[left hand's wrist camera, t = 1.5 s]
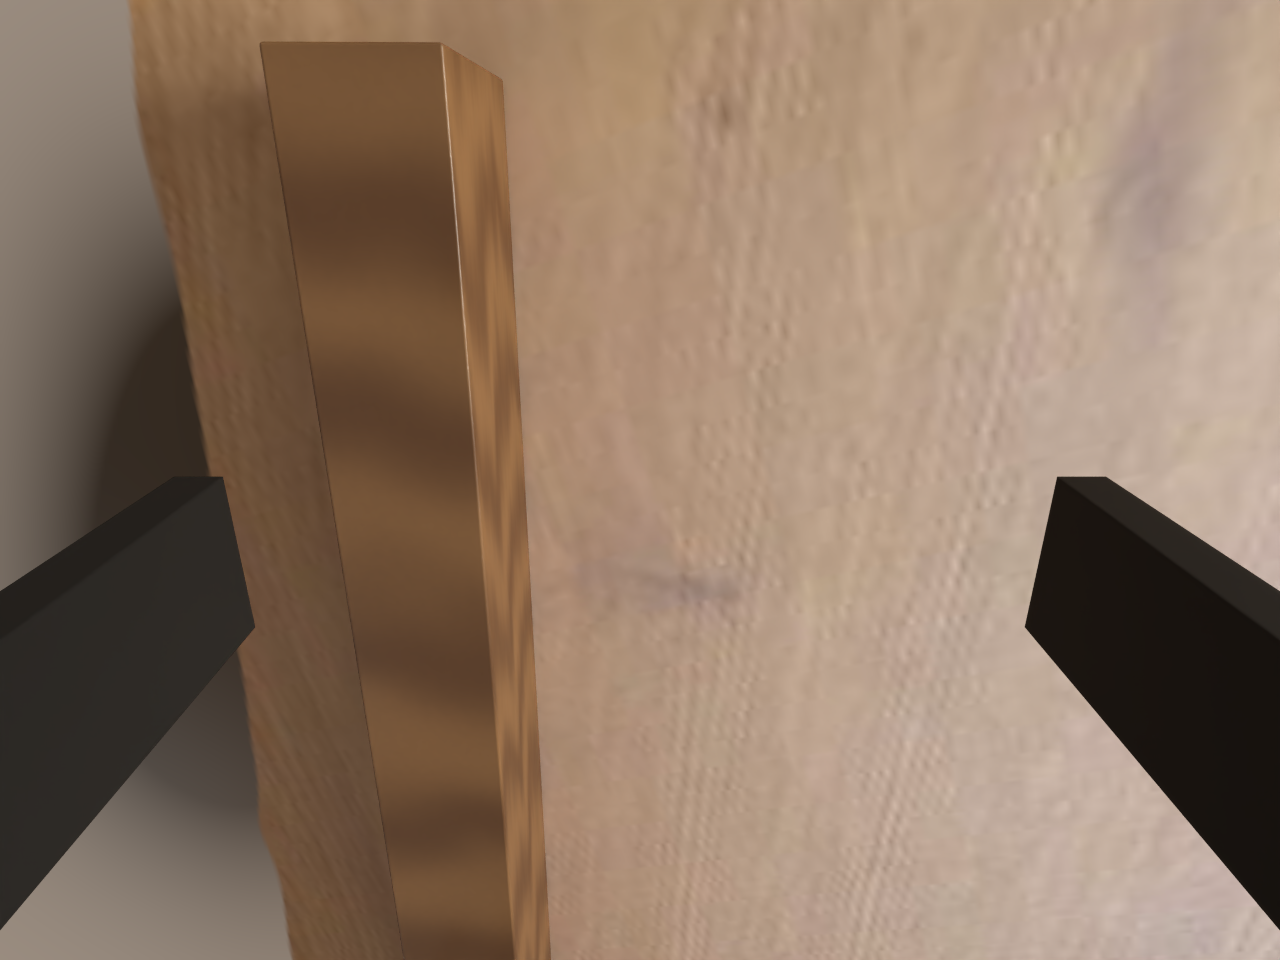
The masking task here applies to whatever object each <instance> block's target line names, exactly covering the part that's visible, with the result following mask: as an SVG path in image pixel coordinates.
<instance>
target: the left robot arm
mask: <svg viewBox="0 0 1280 960" xmlns="http://www.w3.org/2000/svg"><path fill="white" fill-rule="evenodd" d="M254 628H255V624H254V619H253V615H252V610H251V605H250V601H249V596H248V592H247V587H246V582H245V578H244V573H243V568H242V564H241V559H240V554H239V550H238V545H237V541H236V536H235V531H234V527H233V522H232V517H231V513H230V508H229V503H228V499H227V494H226V490H225V485H224V480H223V477H173V478H171V479H170V480H168V481H167V482H165V483H164V484H162V485H161V486H159V487H158V488H156V489H155V490H153V491H152V492H150V493H149V494H147V495H146V496H144V497H143V498H141V499H140V500H138V501H136V502H135V503H134V504H132V505H130V506H129V507H127V508H126V509H124V510H123V511H121V512H120V513H118V514H117V515H115V516H114V517H112V518H111V519H109V520H108V521H106V522H105V523H103V524H102V525H100V526H99V527H97V528H96V529H94V530H92V531H91V532H89V533H88V534H86V535H85V536H83V537H82V538H80V539H79V540H77V541H76V542H74V543H73V544H71V545H70V546H68V547H67V548H65V549H64V550H62V551H61V552H59V553H58V554H56V555H55V556H53V557H52V558H50V559H48V560H47V561H45V562H44V563H42V564H41V565H39V566H38V567H36V568H35V569H33V570H32V571H30V572H29V573H27V574H26V575H24V576H23V577H21V578H20V579H18V580H17V581H15V582H14V583H12V584H11V585H9V586H8V587H6V588H5V589H3V590H1V591H0V930H1V929H2V927H3V926H4V925H5V924H6V923H7V921H8V920H9V919H10V918H11V917H12V915H13V914H14V913H15V912H16V911H17V910H18V908H19V907H20V906H21V905H22V904H23V902H24V901H25V900H26V899H27V898H28V896H29V895H30V894H31V893H32V892H33V891H34V889H35V888H36V887H37V886H38V885H39V883H40V882H41V881H42V880H43V879H44V877H45V876H46V875H47V874H48V873H49V871H50V870H51V869H52V868H53V867H54V866H55V864H56V863H57V862H58V861H59V860H60V858H61V857H62V856H63V855H64V854H65V852H66V851H67V850H68V849H69V848H70V847H71V845H72V844H73V843H74V842H75V841H76V839H77V838H78V837H79V836H80V835H81V833H82V832H83V831H84V830H85V829H86V827H87V826H88V825H89V824H90V823H91V822H92V820H93V819H94V818H95V817H96V816H97V814H98V813H99V812H100V811H101V810H102V808H103V807H104V806H105V805H106V804H107V802H108V801H109V800H110V799H111V798H112V797H113V795H114V794H115V793H116V792H117V791H118V789H119V788H120V787H121V786H122V785H123V784H124V782H125V781H126V780H127V779H128V778H129V776H130V775H131V774H132V773H133V772H134V770H135V769H136V768H137V767H138V766H139V764H140V763H141V762H142V761H143V760H144V759H145V757H146V756H147V755H148V754H149V753H150V751H151V750H152V749H153V748H154V747H155V746H156V744H157V743H158V742H159V741H160V740H161V738H162V737H163V736H164V735H165V734H166V732H167V731H168V730H169V729H170V728H171V727H172V725H173V724H174V723H175V722H176V721H177V719H178V718H179V717H180V716H181V715H182V713H183V712H184V711H185V710H186V709H187V707H188V706H189V705H190V704H191V703H192V702H193V700H194V699H195V698H196V697H197V696H198V694H199V693H200V692H201V691H202V690H203V688H204V687H205V686H206V685H207V684H208V683H209V681H210V680H211V679H212V678H213V676H214V675H215V674H216V673H217V672H218V671H219V669H220V668H221V667H222V666H223V665H224V664H225V662H226V661H227V660H228V659H229V658H230V656H231V655H232V654H233V653H234V652H235V650H236V649H237V648H238V647H239V646H240V645H241V643H242V642H243V641H244V640H245V639H246V637H247V636H248V635H249V634H250V633H251V631H252V630H253V629H254ZM1025 628H1026V629H1027V630H1028V631H1029V633H1030V634H1031V635H1032V636H1033V637H1034V639H1035V640H1036V641H1037V642H1038V643H1039V645H1040V646H1041V647H1042V648H1043V649H1044V650H1045V652H1046V653H1047V654H1048V655H1049V656H1050V658H1051V659H1052V660H1053V661H1054V662H1055V664H1056V665H1057V666H1058V667H1059V668H1060V669H1061V671H1062V672H1063V673H1064V674H1065V675H1066V677H1067V678H1068V679H1069V680H1070V681H1071V683H1072V684H1073V685H1074V686H1075V687H1076V688H1077V690H1078V691H1079V692H1080V693H1081V694H1082V696H1083V697H1084V698H1085V699H1086V700H1087V702H1088V703H1089V704H1090V705H1091V706H1092V708H1093V709H1094V710H1095V711H1096V712H1097V713H1098V715H1099V716H1100V717H1101V718H1102V719H1103V721H1104V722H1105V723H1106V724H1107V725H1108V727H1109V728H1110V729H1111V730H1112V731H1113V732H1114V734H1115V735H1116V736H1117V737H1118V738H1119V740H1120V741H1121V742H1122V743H1123V744H1124V746H1125V747H1126V748H1127V749H1128V750H1129V751H1130V753H1131V754H1132V755H1133V756H1134V757H1135V759H1136V760H1137V761H1138V762H1139V763H1140V765H1141V766H1142V767H1143V768H1144V769H1145V770H1146V772H1147V773H1148V774H1149V775H1150V776H1151V778H1152V779H1153V780H1154V781H1155V782H1156V784H1157V785H1158V786H1159V787H1160V788H1161V790H1162V791H1163V792H1164V793H1165V794H1166V795H1167V797H1168V798H1169V799H1170V800H1171V801H1172V803H1173V804H1174V805H1175V806H1176V807H1177V809H1178V810H1179V811H1180V812H1181V813H1182V814H1183V816H1184V817H1185V818H1186V819H1187V820H1188V822H1189V823H1190V824H1191V825H1192V826H1193V828H1194V829H1195V830H1196V831H1197V832H1198V833H1199V835H1200V836H1201V837H1202V838H1203V839H1204V841H1205V842H1206V843H1207V844H1208V845H1209V847H1210V848H1211V849H1212V850H1213V851H1214V853H1215V854H1216V855H1217V856H1218V857H1219V858H1220V860H1221V861H1222V862H1223V863H1224V864H1225V866H1226V867H1227V868H1228V869H1229V870H1230V872H1231V873H1232V874H1233V875H1234V876H1235V877H1236V879H1237V880H1238V881H1239V882H1240V883H1241V885H1242V886H1243V887H1244V888H1245V889H1246V891H1247V892H1248V893H1249V894H1250V895H1251V896H1252V898H1253V899H1254V900H1255V901H1256V902H1257V904H1258V905H1259V906H1260V907H1261V908H1262V910H1263V911H1264V912H1265V913H1266V914H1267V915H1268V917H1269V918H1270V919H1271V920H1272V921H1273V923H1274V924H1275V925H1276V926H1277V927H1278V929H1279V930H1280V591H1279V590H1277V589H1276V588H1274V587H1272V586H1271V585H1269V584H1268V583H1266V582H1265V581H1263V580H1262V579H1260V578H1259V577H1257V576H1256V575H1254V574H1253V573H1251V572H1250V571H1248V570H1247V569H1245V568H1244V567H1242V566H1241V565H1239V564H1238V563H1236V562H1235V561H1233V560H1232V559H1230V558H1228V557H1227V556H1225V555H1224V554H1222V553H1221V552H1219V551H1218V550H1216V549H1215V548H1213V547H1212V546H1210V545H1209V544H1207V543H1206V542H1204V541H1203V540H1201V539H1200V538H1198V537H1197V536H1195V535H1194V534H1192V533H1191V532H1189V531H1188V530H1186V529H1184V528H1183V527H1181V526H1180V525H1178V524H1177V523H1175V522H1174V521H1172V520H1171V519H1169V518H1168V517H1166V516H1165V515H1163V514H1162V513H1160V512H1159V511H1157V510H1156V509H1154V508H1153V507H1151V506H1150V505H1148V504H1147V503H1145V502H1144V501H1142V500H1140V499H1139V498H1137V497H1136V496H1134V495H1133V494H1131V493H1130V492H1128V491H1127V490H1125V489H1124V488H1122V487H1121V486H1119V485H1118V484H1116V483H1115V482H1113V481H1112V480H1110V479H1109V478H1107V477H1057V480H1056V485H1055V490H1054V494H1053V499H1052V503H1051V508H1050V513H1049V517H1048V522H1047V527H1046V531H1045V536H1044V541H1043V545H1042V550H1041V554H1040V559H1039V564H1038V568H1037V573H1036V578H1035V582H1034V587H1033V592H1032V596H1031V601H1030V605H1029V610H1028V615H1027V619H1026V624H1025Z"/></svg>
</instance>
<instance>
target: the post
mask: <svg viewBox="0 0 1280 960" xmlns="http://www.w3.org/2000/svg"><path fill="white" fill-rule="evenodd" d="M260 51H261V57H262V64H263V70H264V76H265V83H266V89H267V95H268V102H269V108H270V114H271V121H272V127H273V133H274V140H275V146H276V152H277V159H278V165H279V171H280V178H281V184H282V190H283V197H284V203H285V209H286V216H287V222H288V228H289V235H290V241H291V247H292V254H293V260H294V266H295V273H296V279H297V285H298V292H299V298H300V304H301V311H302V317H303V323H304V330H305V336H306V342H307V349H308V355H309V361H310V368H311V374H312V380H313V387H314V393H315V399H316V406H317V412H318V418H319V425H320V431H321V437H322V444H323V450H324V456H325V463H326V469H327V475H328V482H329V488H330V494H331V501H332V507H333V513H334V520H335V526H336V532H337V539H338V545H339V551H340V558H341V564H342V570H343V577H344V583H345V589H346V596H347V602H348V608H349V615H350V621H351V627H352V634H353V640H354V646H355V653H356V659H357V665H358V672H359V678H360V684H361V691H362V697H363V703H364V710H365V716H366V722H367V729H368V735H369V741H370V748H371V754H372V760H373V767H374V773H375V779H376V786H377V792H378V798H379V805H380V811H381V817H382V824H383V830H384V836H385V843H386V849H387V855H388V862H389V868H390V874H391V881H392V887H393V894H394V900H395V906H396V913H397V919H398V925H399V932H400V938H401V944H402V951H403V957H404V960H551V952H550V934H549V916H548V898H547V880H546V861H545V843H544V825H543V807H542V789H541V770H540V752H539V734H538V716H537V697H536V679H535V661H534V643H533V625H532V606H531V588H530V570H529V552H528V534H527V515H526V497H525V479H524V461H523V443H522V424H521V406H520V388H519V370H518V352H517V333H516V315H515V297H514V279H513V261H512V242H511V224H510V206H509V188H508V170H507V151H506V133H505V115H504V97H503V81H502V79H500V78H499V77H497V76H495V75H494V74H492V73H490V72H489V71H487V70H485V69H484V68H482V67H480V66H479V65H477V64H475V63H474V62H472V61H470V60H469V59H467V58H465V57H464V56H462V55H461V54H459V53H457V52H456V51H454V50H452V49H451V48H449V47H447V46H446V45H444V44H442V43H427V42H261V43H260Z"/></svg>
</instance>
